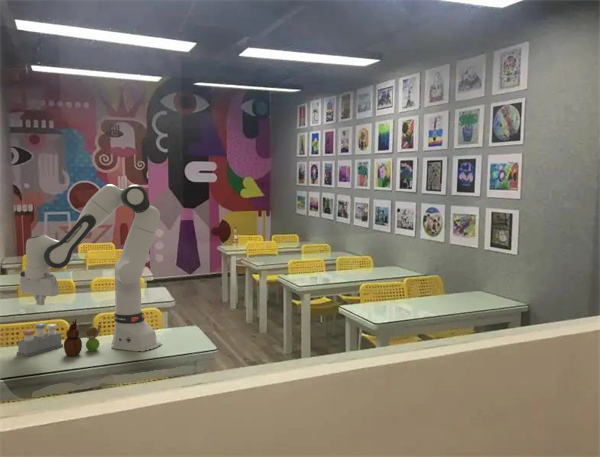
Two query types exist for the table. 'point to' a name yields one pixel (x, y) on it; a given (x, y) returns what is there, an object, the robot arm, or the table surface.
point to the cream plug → (51, 329)
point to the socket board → (39, 345)
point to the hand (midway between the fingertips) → (40, 304)
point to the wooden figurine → (72, 341)
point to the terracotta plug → (28, 335)
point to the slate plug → (40, 330)
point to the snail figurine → (93, 338)
